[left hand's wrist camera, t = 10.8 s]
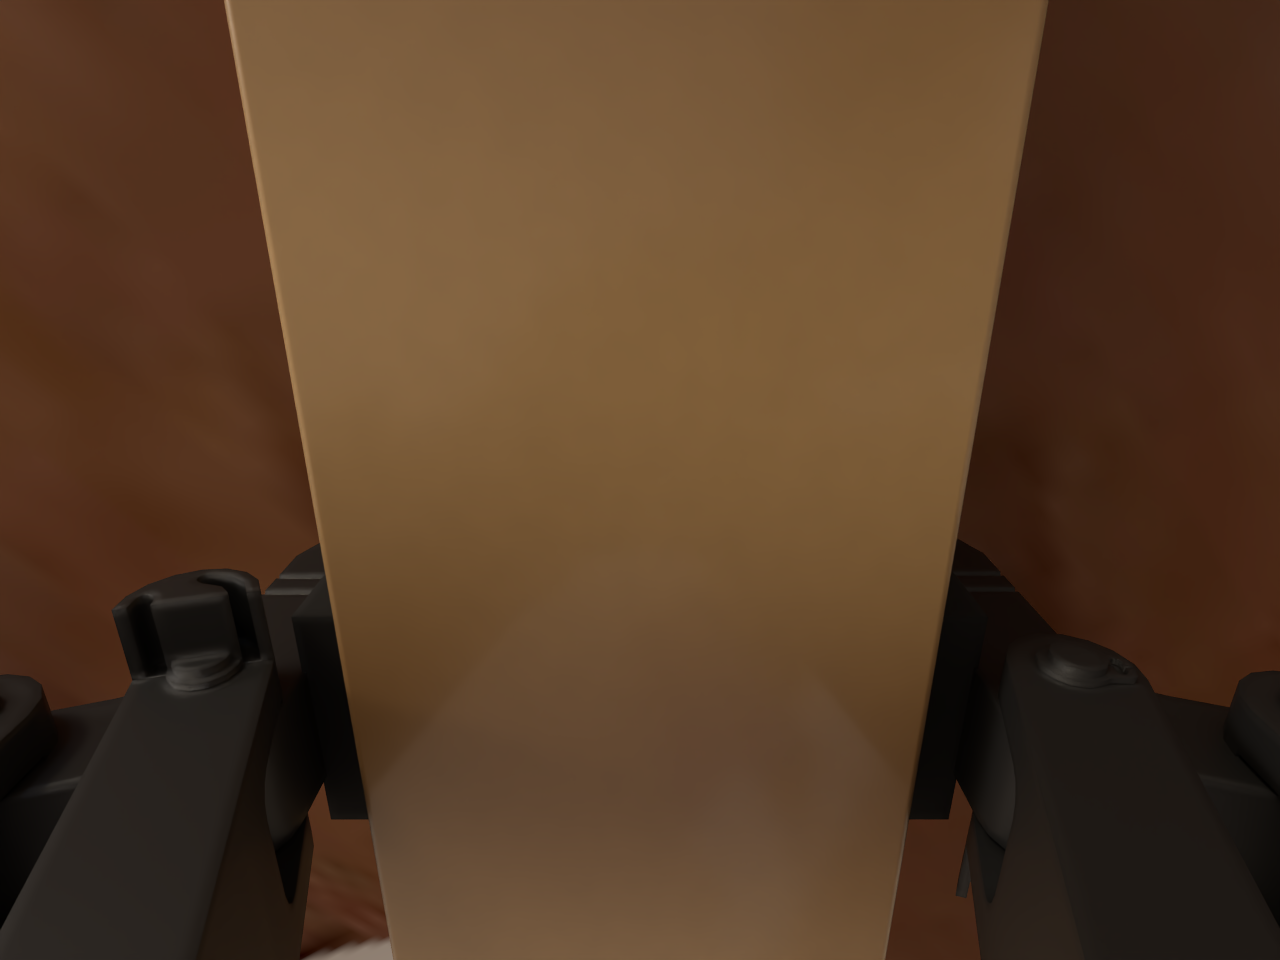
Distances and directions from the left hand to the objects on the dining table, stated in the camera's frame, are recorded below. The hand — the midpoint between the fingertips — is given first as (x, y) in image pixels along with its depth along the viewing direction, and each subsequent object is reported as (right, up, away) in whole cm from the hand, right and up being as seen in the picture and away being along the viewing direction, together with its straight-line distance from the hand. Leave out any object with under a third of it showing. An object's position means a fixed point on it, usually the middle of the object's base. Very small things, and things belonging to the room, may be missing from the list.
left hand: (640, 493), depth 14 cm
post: (0, +19, -7) cm, 20 cm away
